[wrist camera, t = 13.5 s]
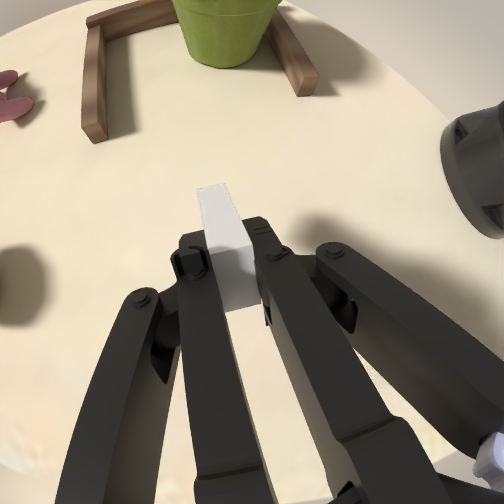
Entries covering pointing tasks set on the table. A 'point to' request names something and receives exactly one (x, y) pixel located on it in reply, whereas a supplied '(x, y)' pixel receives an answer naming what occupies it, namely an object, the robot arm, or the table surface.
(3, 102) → the video game controller
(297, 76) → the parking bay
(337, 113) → the table surface
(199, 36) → the plant pot
